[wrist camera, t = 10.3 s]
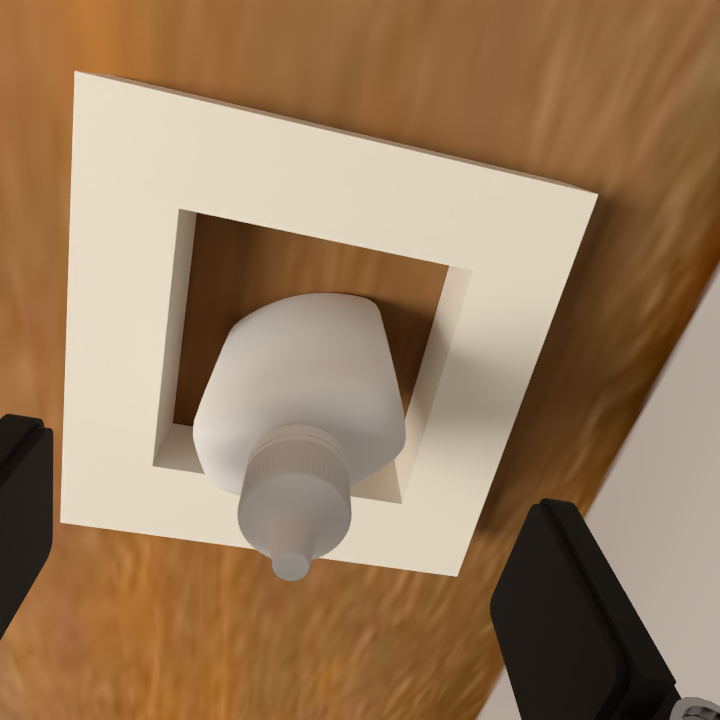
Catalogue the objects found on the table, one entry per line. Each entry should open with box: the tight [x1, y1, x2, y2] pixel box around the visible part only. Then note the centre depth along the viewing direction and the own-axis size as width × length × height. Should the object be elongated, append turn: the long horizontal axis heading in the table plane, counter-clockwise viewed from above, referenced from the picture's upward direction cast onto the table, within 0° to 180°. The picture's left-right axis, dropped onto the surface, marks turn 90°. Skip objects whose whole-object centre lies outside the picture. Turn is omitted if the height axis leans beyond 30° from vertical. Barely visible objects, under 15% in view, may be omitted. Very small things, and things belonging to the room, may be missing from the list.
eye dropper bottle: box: [193, 293, 406, 581], centre depth 17 cm, size 4×6×12 cm
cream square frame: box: [60, 71, 598, 577], centre depth 21 cm, size 15×15×3 cm
